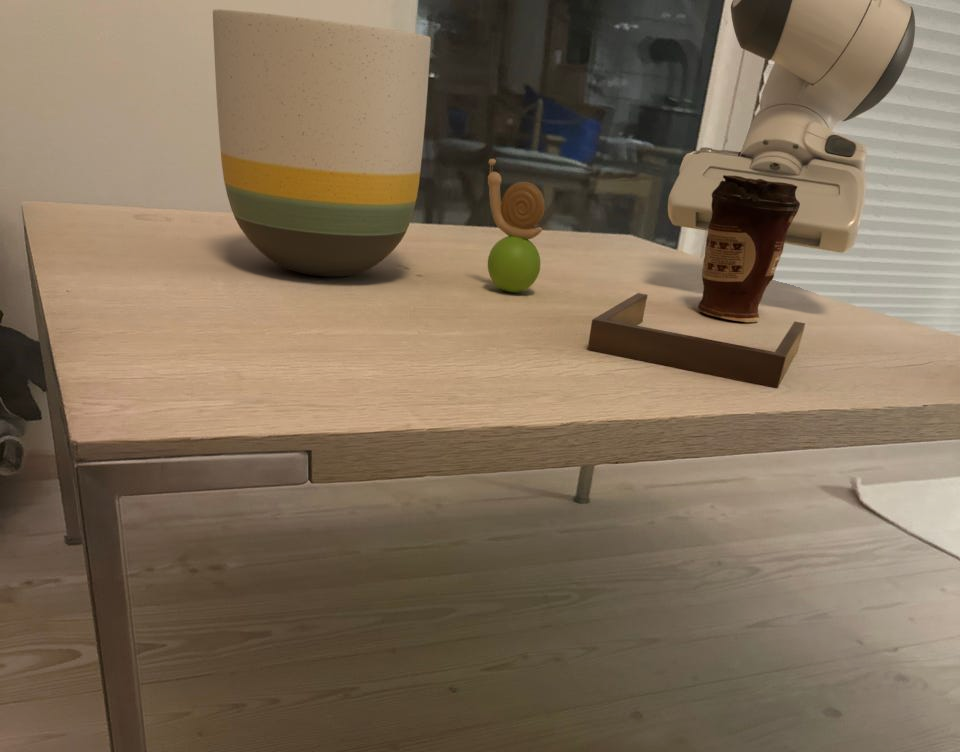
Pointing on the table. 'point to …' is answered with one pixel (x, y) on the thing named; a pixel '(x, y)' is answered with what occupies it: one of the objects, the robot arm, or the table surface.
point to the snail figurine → (515, 233)
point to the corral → (689, 347)
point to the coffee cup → (744, 244)
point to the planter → (320, 136)
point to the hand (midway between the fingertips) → (744, 265)
